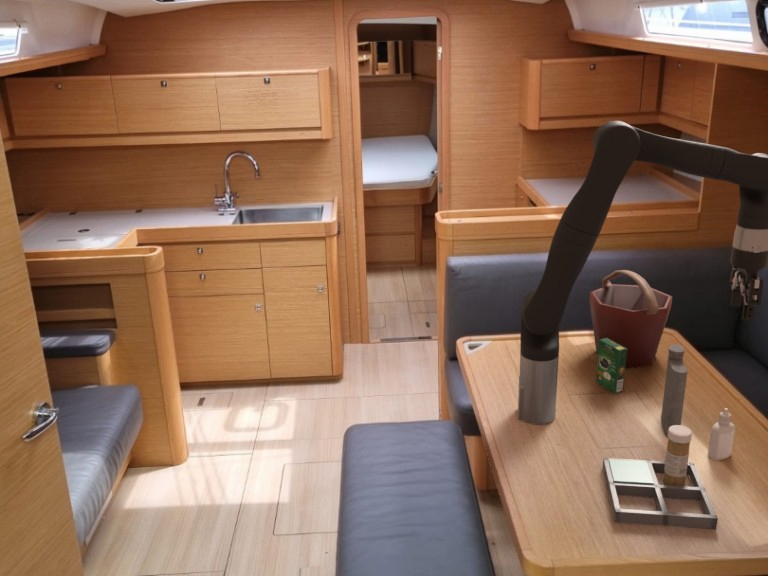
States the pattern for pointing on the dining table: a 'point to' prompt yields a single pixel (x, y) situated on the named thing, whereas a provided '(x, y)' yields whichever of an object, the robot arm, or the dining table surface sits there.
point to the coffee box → (611, 365)
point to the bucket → (630, 317)
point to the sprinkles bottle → (677, 455)
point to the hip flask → (674, 388)
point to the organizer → (655, 494)
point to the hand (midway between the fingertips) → (741, 313)
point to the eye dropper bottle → (721, 437)
